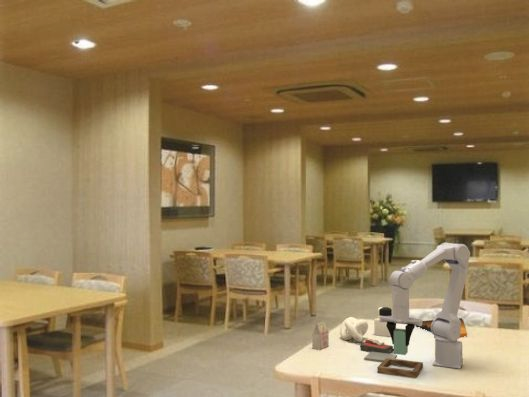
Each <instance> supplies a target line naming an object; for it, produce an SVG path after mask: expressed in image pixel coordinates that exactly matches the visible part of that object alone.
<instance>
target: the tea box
mask: <svg viewBox="0 0 529 397" xmlns="http://www.w3.org/2000/svg"><path fill="white" fill-rule="evenodd" d="M329 333H330V332H329V330H328V327H327V324H326V321H322V322H319V323H316V324H315V328H314V330H313V332H312V336H311V338H312V339H311V340H312V344H311V345H312V346H311V348H312V350H317V351H322V350H324V349H327V348H330V347H329V346H330V345H329V344H330V343H329V341H330V339H329Z"/></svg>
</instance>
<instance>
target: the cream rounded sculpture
mask: <svg viewBox="0 0 529 397" xmlns="http://www.w3.org/2000/svg"><path fill="white" fill-rule="evenodd" d="M368 323H369V322H367V320H365V319H359V320H358V319H357V318H355V317H352V316H350V317H349V316H348V317H347V318H345V319H344V320H343V322H342V323H341V325H340V328H339V335H340V337H341V338H342V339H343V340H345V341H348V340H349V341H350V340H351V339H352V338H353V340H354V341H355V340H357V341H362V342H363V339H364V338H363V337H364V335H366V333H367V331H368V328H369V324H368Z"/></svg>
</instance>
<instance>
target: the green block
mask: <svg viewBox="0 0 529 397" xmlns="http://www.w3.org/2000/svg"><path fill="white" fill-rule="evenodd" d="M408 346H409V345H408ZM408 346H406V329H405V328H397V327H396V329H395V330H394V344H393V349H394V351H393V354H396V355H401V356H406V355H407V354H408V350H409V347H408Z"/></svg>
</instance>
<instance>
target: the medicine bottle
mask: <svg viewBox="0 0 529 397" xmlns="http://www.w3.org/2000/svg"><path fill="white" fill-rule="evenodd" d="M380 316H392V308H391V307H387V306H381V307H378V309H377V318H374V330H373V331H374V332H373V333H374V334H373V335H374V336H381V337H386V338H391V335H390V333H389V330H388V328H387V326H386V325H387V322H380Z"/></svg>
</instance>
